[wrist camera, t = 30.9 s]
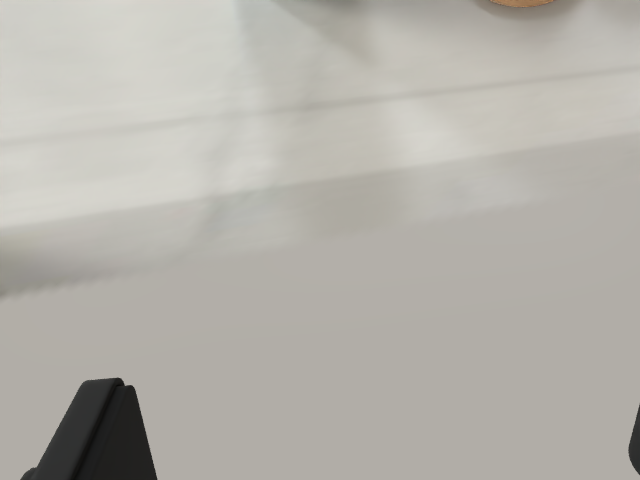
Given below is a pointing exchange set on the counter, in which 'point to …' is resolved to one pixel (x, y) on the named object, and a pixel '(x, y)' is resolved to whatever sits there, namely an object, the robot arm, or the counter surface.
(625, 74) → the counter surface
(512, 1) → the coaster
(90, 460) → the robot arm
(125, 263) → the counter surface
